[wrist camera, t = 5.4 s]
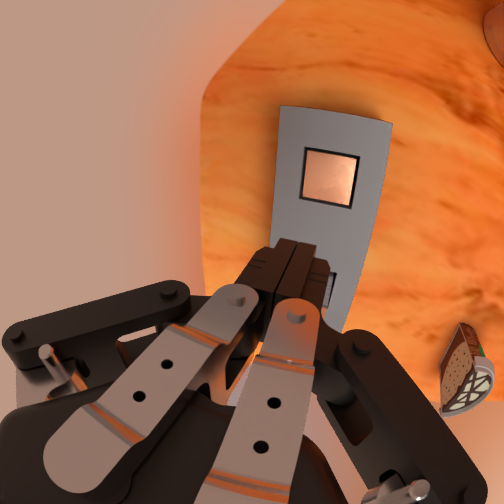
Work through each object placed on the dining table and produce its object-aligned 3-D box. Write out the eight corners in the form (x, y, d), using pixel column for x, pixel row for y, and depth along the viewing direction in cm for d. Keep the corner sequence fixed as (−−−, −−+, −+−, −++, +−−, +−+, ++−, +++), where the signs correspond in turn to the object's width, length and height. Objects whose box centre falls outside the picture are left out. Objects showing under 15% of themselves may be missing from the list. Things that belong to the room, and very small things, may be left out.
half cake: (464, 370, 34) (471, 417, 26) (435, 370, 36) (439, 419, 28) (494, 316, 28) (512, 366, 20) (462, 314, 31) (477, 368, 22)
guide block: (298, 106, 27) (280, 105, 20) (382, 120, 24) (392, 123, 18) (281, 277, 38) (262, 316, 31) (346, 292, 36) (340, 334, 29)
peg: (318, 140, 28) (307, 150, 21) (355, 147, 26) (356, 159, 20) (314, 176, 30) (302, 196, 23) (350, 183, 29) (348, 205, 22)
